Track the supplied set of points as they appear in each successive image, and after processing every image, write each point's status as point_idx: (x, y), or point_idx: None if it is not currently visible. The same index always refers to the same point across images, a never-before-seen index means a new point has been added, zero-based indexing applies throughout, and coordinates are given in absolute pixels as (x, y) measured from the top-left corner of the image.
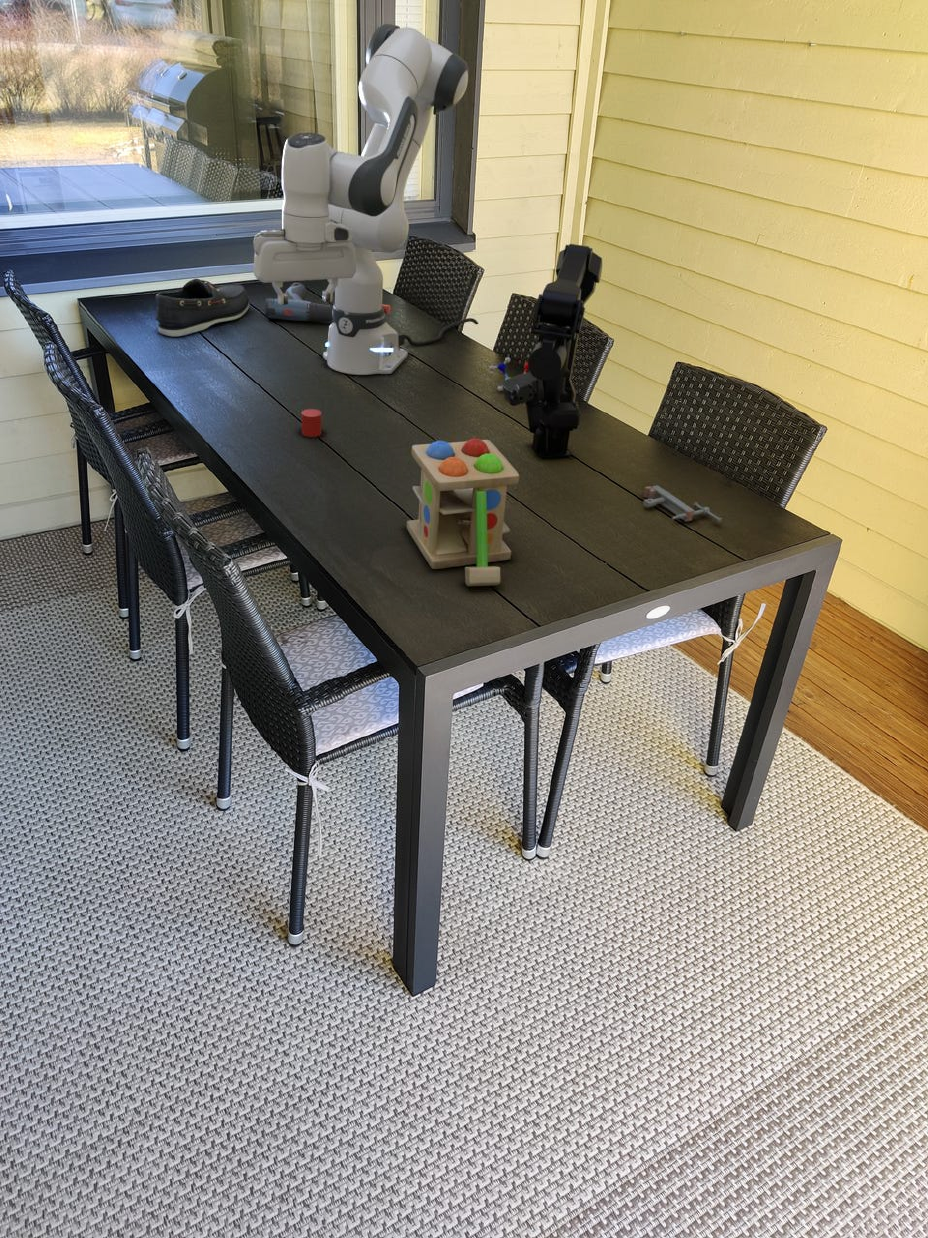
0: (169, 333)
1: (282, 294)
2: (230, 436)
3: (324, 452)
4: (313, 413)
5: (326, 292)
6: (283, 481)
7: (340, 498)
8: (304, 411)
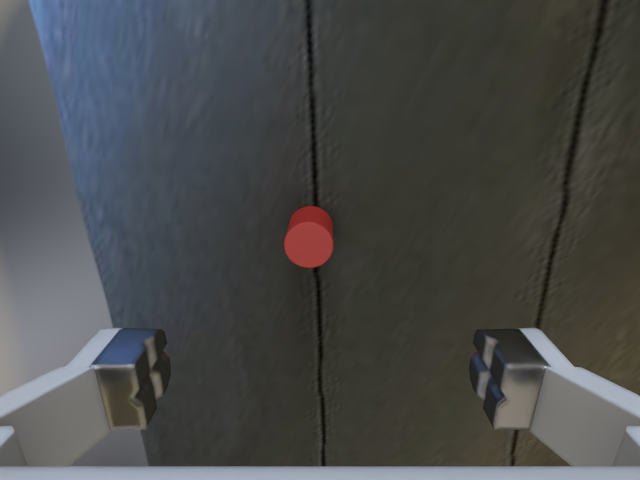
0: None
1: (86, 445)
2: (129, 179)
3: (298, 314)
4: (311, 251)
5: (514, 407)
6: (185, 383)
7: (254, 453)
8: (295, 232)
